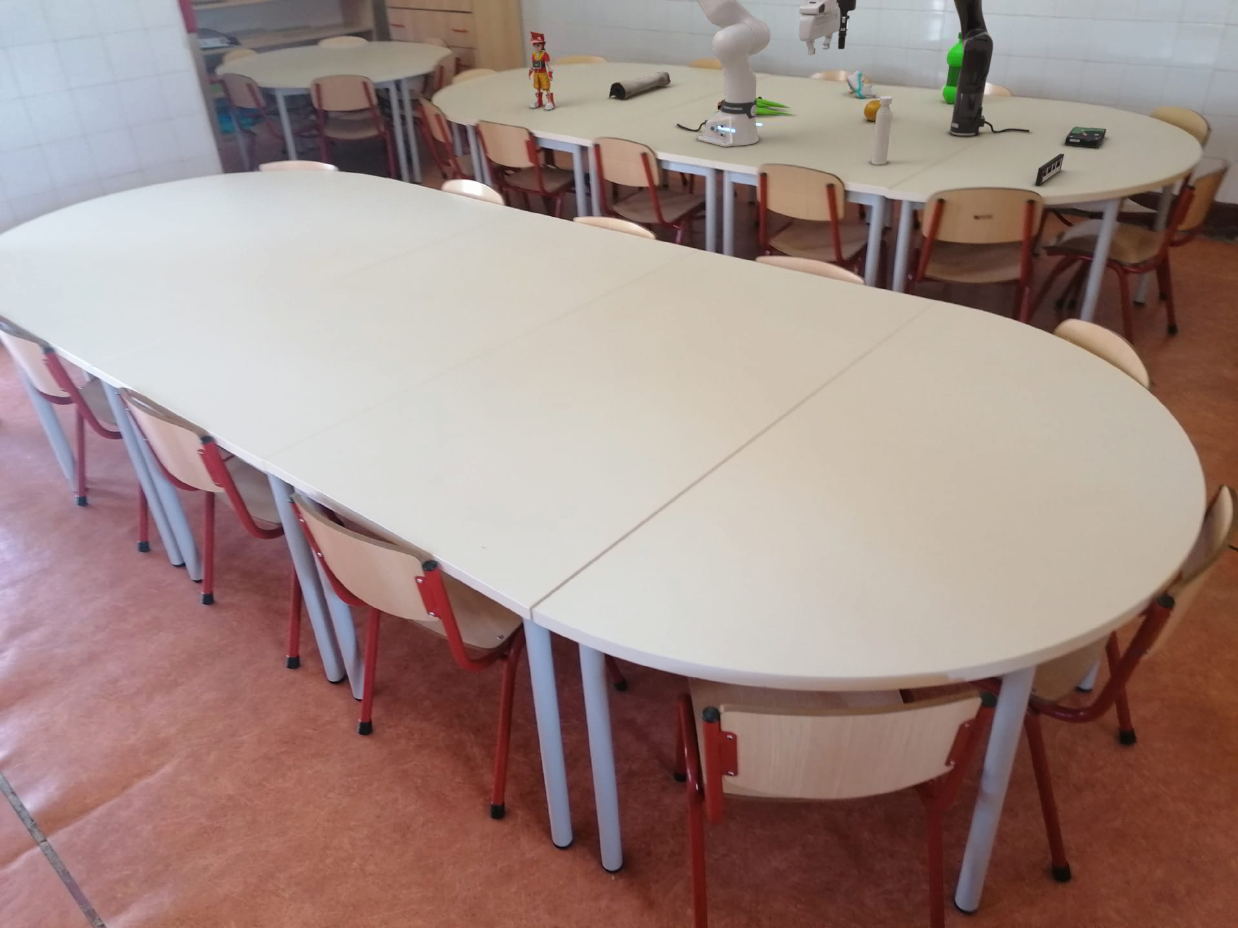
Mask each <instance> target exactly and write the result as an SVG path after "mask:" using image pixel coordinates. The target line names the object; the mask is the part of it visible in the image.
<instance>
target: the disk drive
mask: <svg viewBox="0 0 1238 928" xmlns="http://www.w3.org/2000/svg"><path fill="white" fill-rule="evenodd" d="M1106 133H1107V128H1100V127H1083V126H1074V127H1073V128H1072V129H1071V131H1070V132H1069V133H1068V134H1067V135H1066V137H1065V140H1064V145H1069V146H1076V147H1086V148H1098V147H1099V146H1100V145H1101V143H1102V140H1103V139H1105V136H1106Z"/></svg>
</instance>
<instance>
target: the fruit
mask: <svg viewBox="0 0 1238 928" xmlns="http://www.w3.org/2000/svg"><path fill="white" fill-rule="evenodd" d="M880 107H881V104H880V99H874V100H870V101H869V102H867V103H866V105H865V106H864V110H863V115H864V117H865V119H867V120H868V121H871V122H876V114H877V111H878V110H879V108H880Z"/></svg>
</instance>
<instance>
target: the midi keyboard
mask: <svg viewBox="0 0 1238 928" xmlns="http://www.w3.org/2000/svg"><path fill="white" fill-rule="evenodd" d="M1064 157H1065V153H1059V154H1058V155H1056V156H1055V157H1052V159H1051V160H1049V161H1047V162H1045V164H1042V165H1041V166H1039V167H1038V169H1037V175H1036V179H1035V186H1040V185H1042V183H1044V182H1045V181H1047V180H1048V179H1049V178H1051V177H1052V176H1054V175H1055V174H1056V173H1058V172H1060V171H1061V170H1062V165H1063V161H1064Z"/></svg>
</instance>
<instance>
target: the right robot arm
mask: <svg viewBox="0 0 1238 928" xmlns="http://www.w3.org/2000/svg"><path fill="white" fill-rule="evenodd" d="M837 3H838V7H839V8H840V28H839V31H838V33H837V34H838V35H837V37H838V39H837V44H838V45H837V49H838V50H844V49H845V46H846V37H847V35H848V33H847V31H848V30H849V23H850V17H851V16H850V15H848V13H849V12H851V11H855V10H856V8H857V0H837ZM953 4H954V6H955V10H956V11H957V16H958V19H959V24H960V32H961V35H962V50H963V59H962V65H961V70H960V73H959V77H958V83H957V90H956V96H955V103H953V110H952V115H951V124H950V129H949V134H950V135H952V136H956V137H973V136H979V131H980V128H984V127H985V124H986V125H988V126H989V127H990V131H991V133H993V134H998V133H999V134H1000V133H1004V132H1011V131H1012V132H1013V131H1015V132H1025V133H1030V129H1026V128H1025V129H1024V128H1013V127H1011V128H1009V127H1008V128H1004V129H1000V130H995V129H994V127H993V124H992V123H990V122H989V121H987V120H986V118H985V115H983V109H984V107H983V102H984V96H985V90H986V83H987V79H988V76H989V73H990V67H991V62H992V56H993V53H994V40H993V38H992V36H991V35H990V33H989V32H988V27H987V25H986V21H985V18H984V12H983V0H953Z"/></svg>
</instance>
